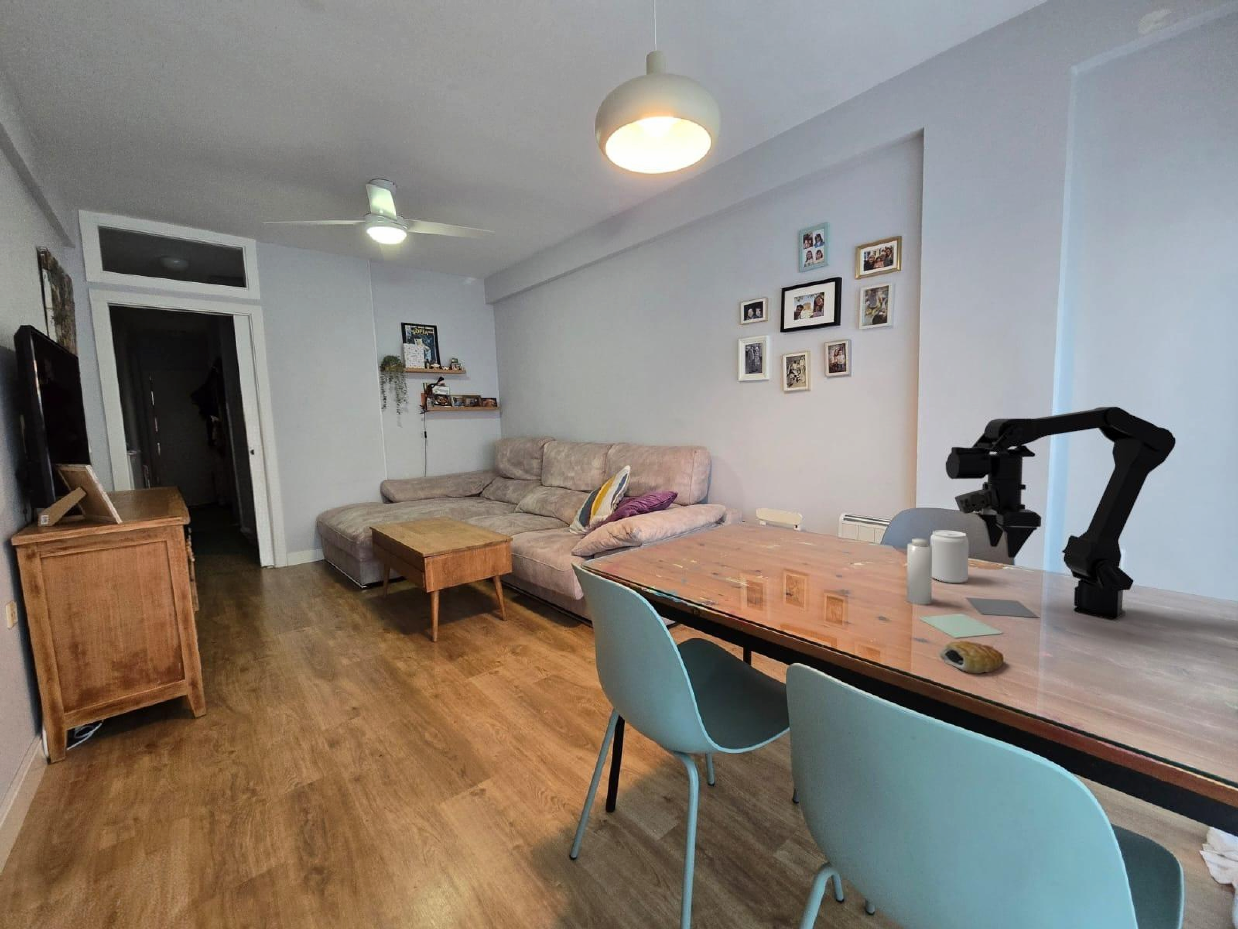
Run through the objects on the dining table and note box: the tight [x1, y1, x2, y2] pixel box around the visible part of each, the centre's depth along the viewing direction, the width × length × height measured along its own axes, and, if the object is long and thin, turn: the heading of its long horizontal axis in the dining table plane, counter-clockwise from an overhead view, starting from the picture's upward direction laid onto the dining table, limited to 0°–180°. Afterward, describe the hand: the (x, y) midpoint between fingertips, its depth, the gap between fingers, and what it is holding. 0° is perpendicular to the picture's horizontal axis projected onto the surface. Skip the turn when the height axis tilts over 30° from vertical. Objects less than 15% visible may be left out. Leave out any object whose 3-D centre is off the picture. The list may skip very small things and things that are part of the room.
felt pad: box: [965, 597, 1040, 619], centre depth 110 cm, size 10×10×1 cm
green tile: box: [917, 613, 1004, 639], centre depth 102 cm, size 10×10×1 cm
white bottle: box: [906, 538, 933, 606], centre depth 115 cm, size 5×5×14 cm
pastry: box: [939, 640, 1004, 674], centre depth 86 cm, size 9×7×4 cm
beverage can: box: [930, 529, 969, 584], centre depth 130 cm, size 8×8×12 cm
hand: (1002, 551), depth 107 cm, fingers open, 9 cm apart
